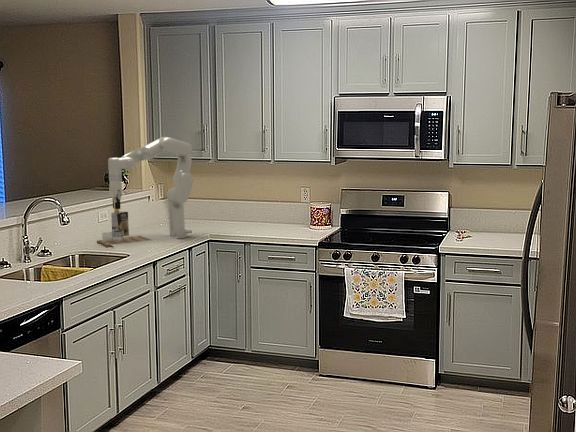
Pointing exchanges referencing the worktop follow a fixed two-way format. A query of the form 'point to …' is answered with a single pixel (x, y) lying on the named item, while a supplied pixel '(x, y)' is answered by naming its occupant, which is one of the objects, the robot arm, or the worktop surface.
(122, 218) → the coffee box
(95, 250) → the worktop surface
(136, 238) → the walnut board
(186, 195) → the robot arm
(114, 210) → the brass pin
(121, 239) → the clear container
